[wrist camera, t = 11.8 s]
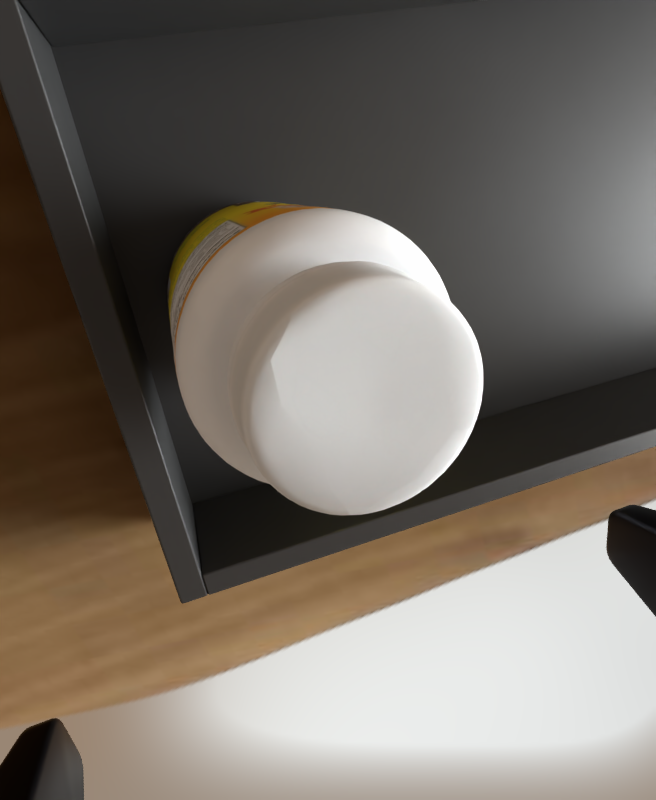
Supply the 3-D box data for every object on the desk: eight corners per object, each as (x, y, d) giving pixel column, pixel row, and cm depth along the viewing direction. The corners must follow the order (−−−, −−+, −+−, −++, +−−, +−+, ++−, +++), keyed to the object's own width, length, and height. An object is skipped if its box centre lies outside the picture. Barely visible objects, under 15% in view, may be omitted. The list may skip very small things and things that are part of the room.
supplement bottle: (370, 275, 18) (590, 366, 9) (270, 403, 19) (382, 607, 10) (238, 156, 16) (359, 118, 7) (127, 307, 16) (98, 463, 7)
